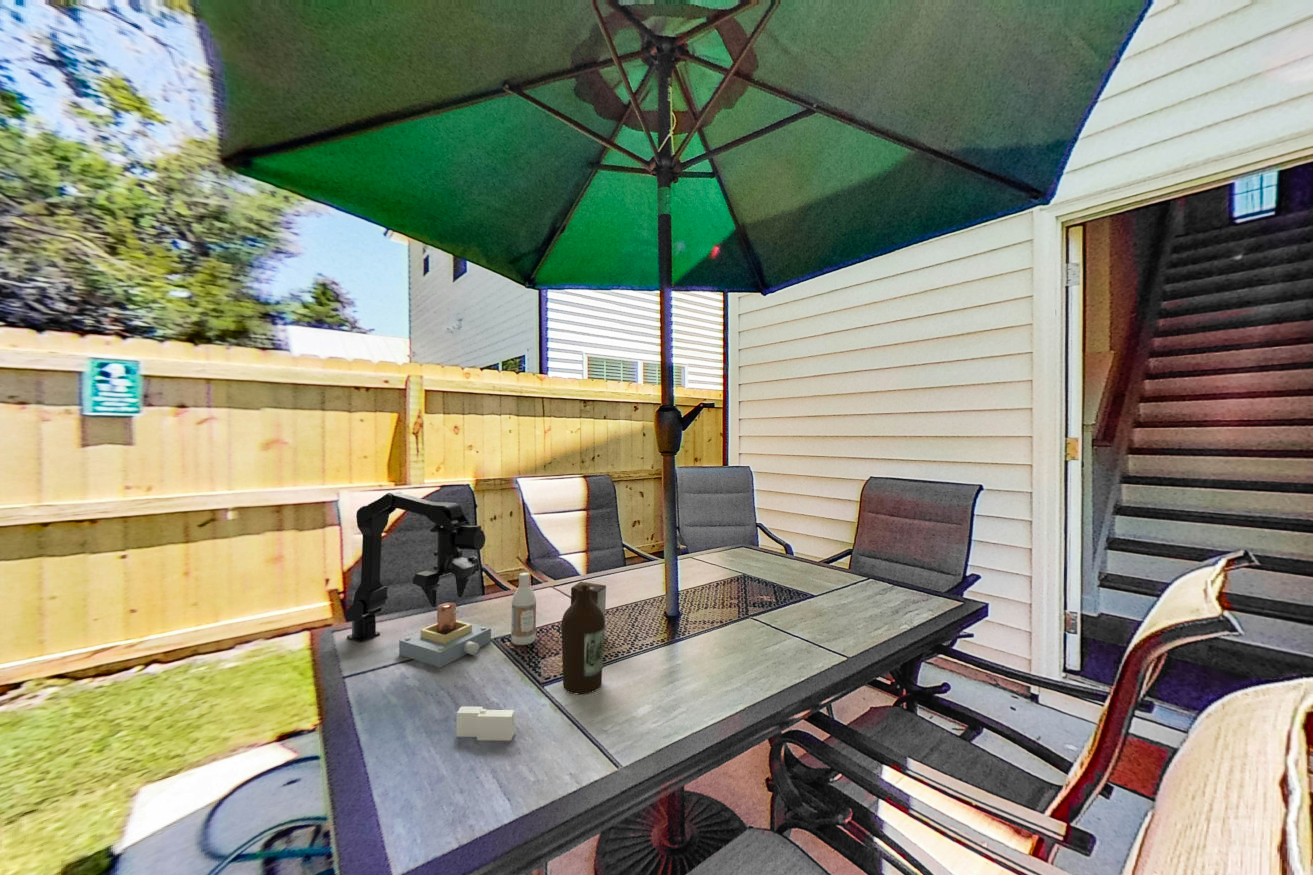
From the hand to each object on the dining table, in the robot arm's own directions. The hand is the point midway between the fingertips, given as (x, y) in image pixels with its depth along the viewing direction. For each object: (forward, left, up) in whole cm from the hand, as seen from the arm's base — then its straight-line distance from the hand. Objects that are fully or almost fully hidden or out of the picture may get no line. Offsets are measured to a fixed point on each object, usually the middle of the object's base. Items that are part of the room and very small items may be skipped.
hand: (447, 601), depth 142 cm
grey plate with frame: (+2, -1, -13) cm, 13 cm away
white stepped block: (+40, -25, -14) cm, 49 cm away
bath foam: (+17, +13, -13) cm, 25 cm away
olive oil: (+47, 0, -13) cm, 48 cm away
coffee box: (+33, +23, -13) cm, 42 cm away
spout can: (+1, -1, -9) cm, 9 cm away
